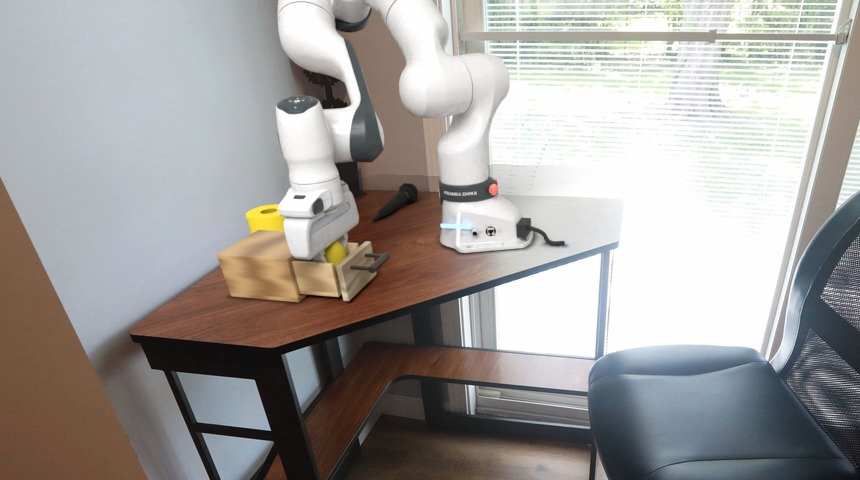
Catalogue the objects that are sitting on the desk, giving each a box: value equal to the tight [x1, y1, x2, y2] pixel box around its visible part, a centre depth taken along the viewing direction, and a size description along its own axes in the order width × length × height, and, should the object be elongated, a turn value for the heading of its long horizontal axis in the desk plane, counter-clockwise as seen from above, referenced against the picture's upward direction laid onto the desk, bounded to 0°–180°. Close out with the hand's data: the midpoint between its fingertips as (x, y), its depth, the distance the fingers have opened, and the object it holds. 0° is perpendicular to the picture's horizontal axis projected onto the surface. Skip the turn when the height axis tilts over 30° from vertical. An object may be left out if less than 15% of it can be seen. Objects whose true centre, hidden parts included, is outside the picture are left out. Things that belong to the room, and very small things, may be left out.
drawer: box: [290, 240, 391, 302], centre depth 113 cm, size 20×12×7 cm, turn 76°
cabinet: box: [216, 230, 309, 303], centre depth 116 cm, size 16×14×9 cm
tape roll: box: [245, 203, 285, 234], centre depth 133 cm, size 10×10×9 cm
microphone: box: [372, 182, 419, 222], centre depth 155 cm, size 6×6×20 cm
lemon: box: [323, 240, 348, 277], centre depth 112 cm, size 6×6×8 cm
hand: (334, 262), depth 113 cm, fingers closed on lemon, 5 cm apart
